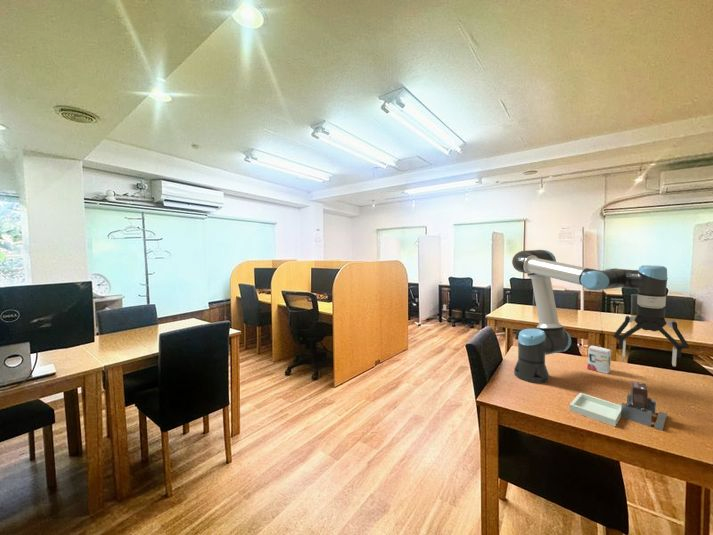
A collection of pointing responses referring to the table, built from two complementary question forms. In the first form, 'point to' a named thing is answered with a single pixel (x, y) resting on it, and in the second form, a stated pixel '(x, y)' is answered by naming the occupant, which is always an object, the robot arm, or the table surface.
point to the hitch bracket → (643, 413)
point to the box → (639, 395)
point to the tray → (596, 409)
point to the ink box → (599, 359)
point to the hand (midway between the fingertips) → (647, 360)
